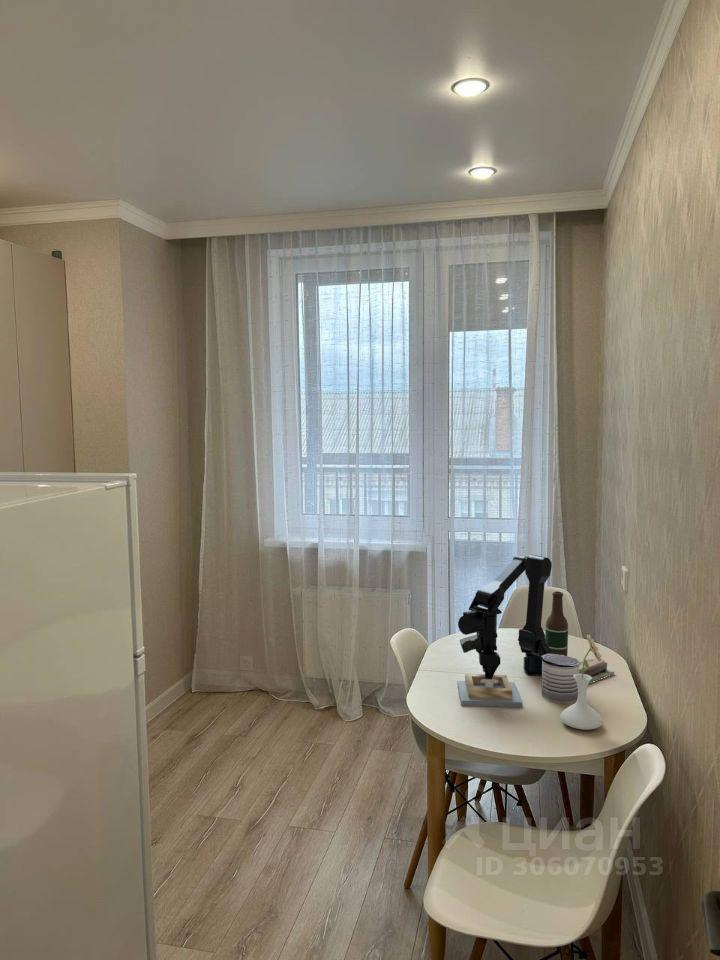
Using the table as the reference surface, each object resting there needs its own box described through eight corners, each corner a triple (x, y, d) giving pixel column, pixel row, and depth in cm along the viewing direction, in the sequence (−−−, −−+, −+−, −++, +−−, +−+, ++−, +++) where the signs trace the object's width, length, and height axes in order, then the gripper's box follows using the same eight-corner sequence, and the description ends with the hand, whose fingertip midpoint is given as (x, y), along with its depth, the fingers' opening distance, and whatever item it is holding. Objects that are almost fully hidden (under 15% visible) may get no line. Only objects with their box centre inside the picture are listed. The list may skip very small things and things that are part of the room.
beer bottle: (555, 653, 255) (557, 588, 253) (571, 659, 248) (573, 593, 246) (540, 656, 251) (541, 591, 249) (556, 663, 244) (558, 596, 242)
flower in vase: (592, 737, 186) (595, 646, 184) (552, 725, 194) (555, 637, 192) (611, 722, 196) (614, 635, 194) (572, 711, 203) (575, 627, 201)
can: (535, 689, 220) (536, 652, 219) (570, 688, 221) (571, 651, 220) (548, 703, 209) (549, 664, 208) (585, 702, 210) (586, 663, 209)
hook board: (514, 687, 222) (514, 669, 221) (522, 707, 206) (522, 689, 205) (457, 685, 223) (457, 668, 223) (461, 705, 207) (461, 687, 207)
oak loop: (506, 682, 222) (506, 675, 221) (512, 698, 209) (512, 690, 208) (465, 681, 222) (465, 673, 222) (468, 697, 210) (468, 689, 209)
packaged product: (582, 673, 222) (556, 664, 230) (582, 688, 222) (556, 678, 230) (615, 661, 233) (589, 653, 241) (614, 676, 233) (589, 667, 241)
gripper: (459, 619, 229) (458, 666, 231) (463, 637, 211) (463, 687, 212) (493, 620, 228) (492, 667, 230) (501, 638, 210) (500, 688, 211)
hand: (486, 677), depth 221 cm, fingers open, 9 cm apart
